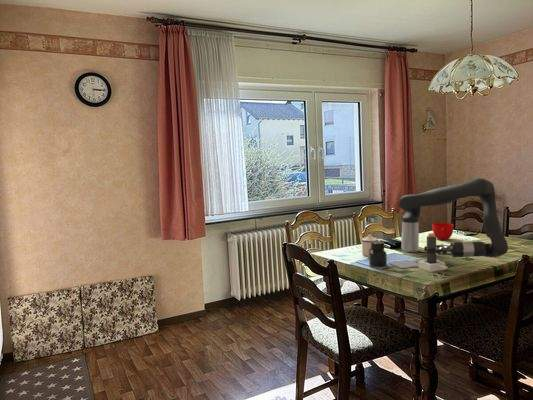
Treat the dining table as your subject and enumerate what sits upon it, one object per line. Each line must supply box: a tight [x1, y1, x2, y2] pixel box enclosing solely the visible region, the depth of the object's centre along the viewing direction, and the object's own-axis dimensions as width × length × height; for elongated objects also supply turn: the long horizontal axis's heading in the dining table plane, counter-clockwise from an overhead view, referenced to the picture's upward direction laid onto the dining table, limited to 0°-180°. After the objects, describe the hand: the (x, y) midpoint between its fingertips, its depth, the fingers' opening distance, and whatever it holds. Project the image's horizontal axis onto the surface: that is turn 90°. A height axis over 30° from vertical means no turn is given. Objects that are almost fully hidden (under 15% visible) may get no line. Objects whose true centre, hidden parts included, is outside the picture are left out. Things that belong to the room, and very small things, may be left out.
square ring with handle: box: [417, 259, 448, 273], centre depth 203 cm, size 15×9×4 cm, turn 18°
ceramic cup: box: [431, 222, 454, 241], centre depth 273 cm, size 13×17×10 cm
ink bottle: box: [368, 240, 388, 268], centre depth 217 cm, size 10×9×12 cm
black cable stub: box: [426, 232, 437, 264], centre depth 205 cm, size 4×4×18 cm
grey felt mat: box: [388, 259, 418, 270], centre depth 215 cm, size 12×12×1 cm
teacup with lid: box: [361, 234, 379, 257], centre depth 241 cm, size 12×9×12 cm
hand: (425, 249), depth 206 cm, fingers closed on black cable stub, 4 cm apart
